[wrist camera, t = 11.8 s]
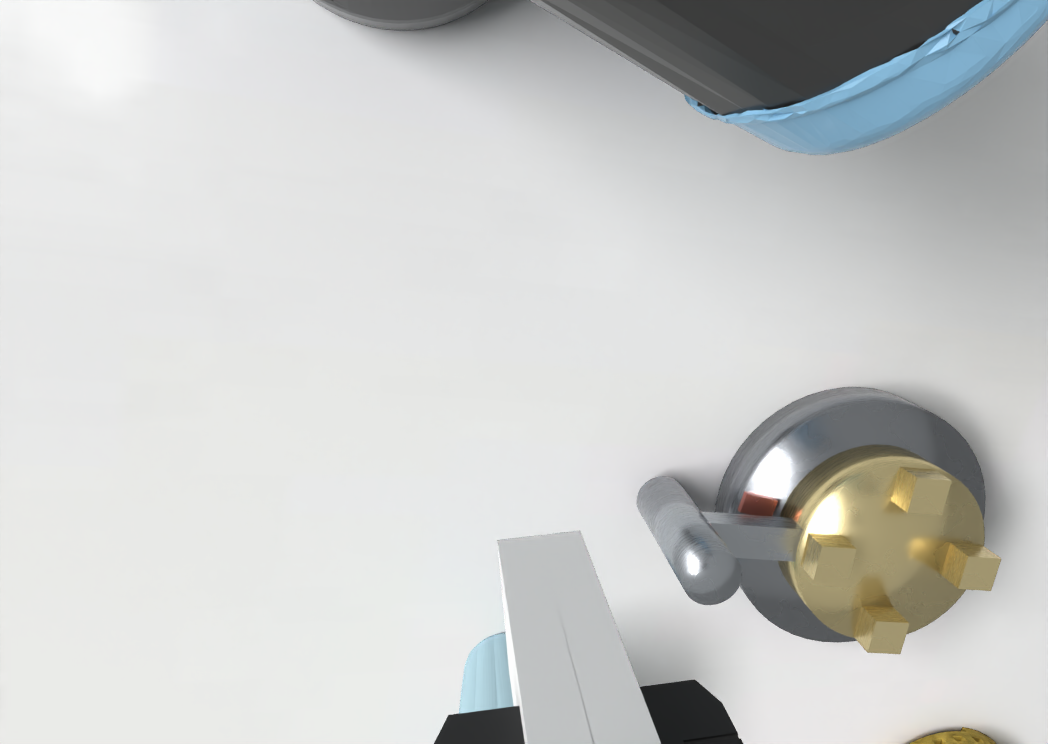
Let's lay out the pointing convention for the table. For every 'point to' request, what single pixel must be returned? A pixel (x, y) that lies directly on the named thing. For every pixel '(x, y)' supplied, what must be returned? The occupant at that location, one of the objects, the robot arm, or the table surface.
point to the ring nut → (840, 543)
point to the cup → (487, 677)
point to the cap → (805, 442)
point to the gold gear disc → (956, 738)
